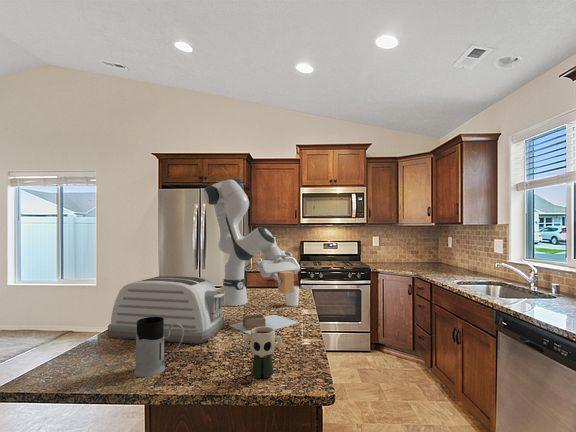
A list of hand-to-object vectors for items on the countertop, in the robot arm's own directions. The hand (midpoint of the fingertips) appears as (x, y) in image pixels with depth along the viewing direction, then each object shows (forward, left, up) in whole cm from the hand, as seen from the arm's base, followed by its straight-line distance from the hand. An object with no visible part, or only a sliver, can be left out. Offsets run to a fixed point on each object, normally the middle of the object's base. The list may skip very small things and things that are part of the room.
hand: (286, 281), depth 144 cm
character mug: (+32, -39, -19) cm, 54 cm away
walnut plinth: (-5, -15, -18) cm, 24 cm away
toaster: (-24, -43, -19) cm, 53 cm away
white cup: (-26, +27, -19) cm, 42 cm away
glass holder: (+8, -60, -19) cm, 63 cm away
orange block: (-1, 0, -5) cm, 5 cm away
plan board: (-5, -9, -19) cm, 21 cm away
